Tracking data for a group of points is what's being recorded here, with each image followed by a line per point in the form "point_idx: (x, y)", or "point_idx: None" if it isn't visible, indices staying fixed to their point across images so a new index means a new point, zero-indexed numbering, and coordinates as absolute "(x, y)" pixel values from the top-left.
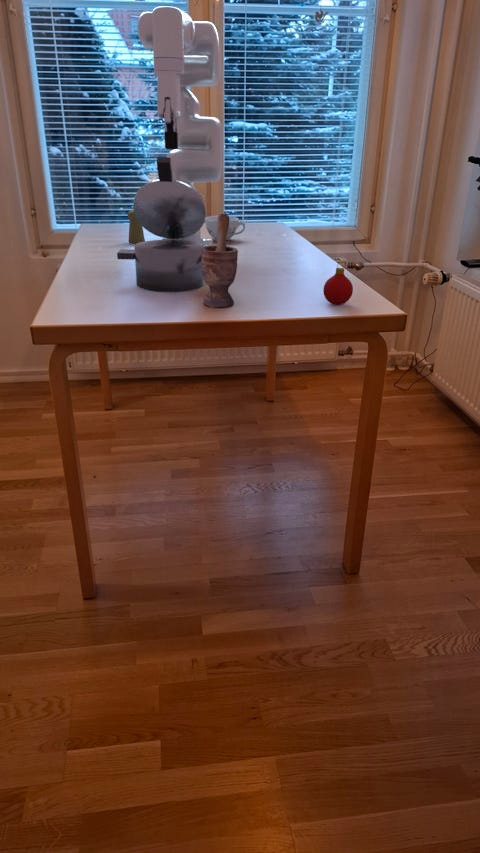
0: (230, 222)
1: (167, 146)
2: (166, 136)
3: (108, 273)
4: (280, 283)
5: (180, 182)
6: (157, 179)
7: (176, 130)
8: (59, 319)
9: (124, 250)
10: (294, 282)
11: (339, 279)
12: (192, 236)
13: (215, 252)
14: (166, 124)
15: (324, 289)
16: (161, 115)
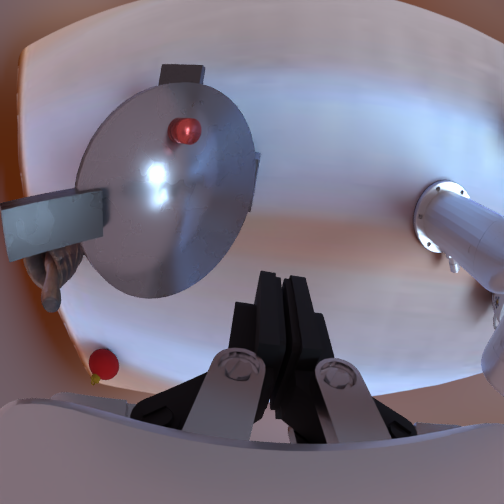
0: (498, 314)
1: (258, 291)
2: (256, 330)
3: (275, 47)
4: (193, 330)
5: (88, 258)
6: (81, 181)
7: (289, 426)
8: (36, 56)
9: (188, 74)
10: (200, 347)
11: (91, 370)
12: (438, 238)
13: (23, 258)
14: (140, 403)
15: (97, 353)
16: (432, 462)
